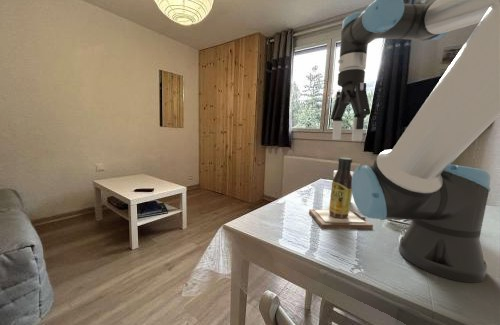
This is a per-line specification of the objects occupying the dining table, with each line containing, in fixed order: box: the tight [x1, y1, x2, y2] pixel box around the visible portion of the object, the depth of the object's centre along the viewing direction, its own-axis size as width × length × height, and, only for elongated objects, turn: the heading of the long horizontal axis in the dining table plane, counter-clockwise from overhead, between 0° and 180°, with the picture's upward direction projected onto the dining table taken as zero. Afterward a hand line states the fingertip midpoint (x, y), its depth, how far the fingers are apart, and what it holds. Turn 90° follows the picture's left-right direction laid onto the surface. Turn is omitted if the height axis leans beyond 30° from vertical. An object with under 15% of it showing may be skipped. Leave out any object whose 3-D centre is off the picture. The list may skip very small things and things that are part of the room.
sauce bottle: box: [328, 157, 353, 218], centre depth 70 cm, size 6×6×20 cm
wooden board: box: [308, 208, 374, 230], centre depth 72 cm, size 13×16×2 cm
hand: (345, 140), depth 68 cm, fingers open, 13 cm apart
